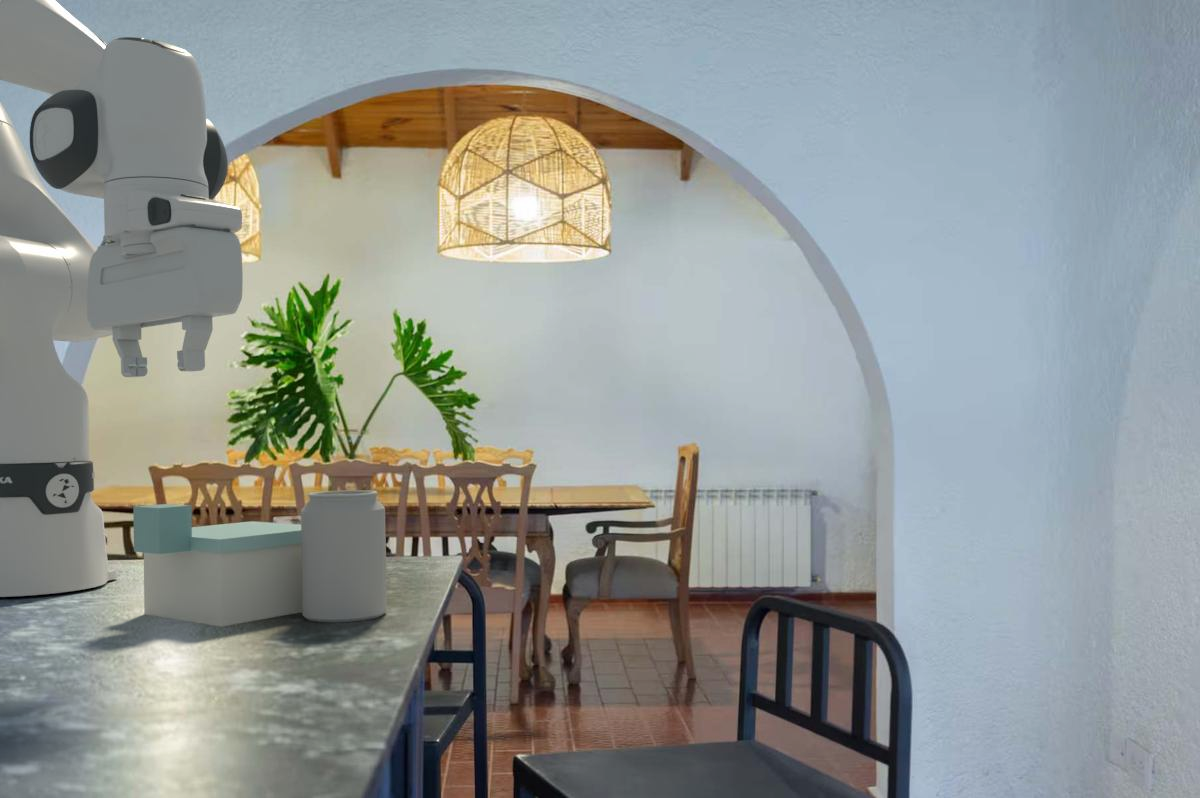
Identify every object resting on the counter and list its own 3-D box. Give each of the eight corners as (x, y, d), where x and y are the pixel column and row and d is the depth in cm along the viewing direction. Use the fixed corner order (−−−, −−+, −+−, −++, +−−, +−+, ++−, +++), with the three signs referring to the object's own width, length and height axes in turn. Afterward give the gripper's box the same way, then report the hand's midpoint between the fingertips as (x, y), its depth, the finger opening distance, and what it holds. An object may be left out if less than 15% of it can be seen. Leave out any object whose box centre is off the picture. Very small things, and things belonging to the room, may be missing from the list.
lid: (107, 559, 106) (107, 504, 106) (252, 542, 119) (251, 493, 119) (188, 568, 99) (188, 509, 99) (333, 549, 111) (333, 497, 111)
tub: (144, 620, 109) (143, 545, 109) (252, 602, 118) (251, 533, 118) (221, 633, 102) (220, 552, 102) (330, 612, 111) (329, 539, 111)
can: (402, 617, 108) (400, 488, 108) (353, 632, 101) (351, 493, 101) (337, 613, 111) (335, 487, 111) (284, 626, 104) (283, 492, 104)
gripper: (66, 231, 109) (70, 379, 108) (187, 198, 96) (192, 367, 95) (130, 238, 113) (134, 380, 113) (254, 208, 101) (258, 368, 100)
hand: (162, 374), depth 104 cm, fingers open, 8 cm apart
